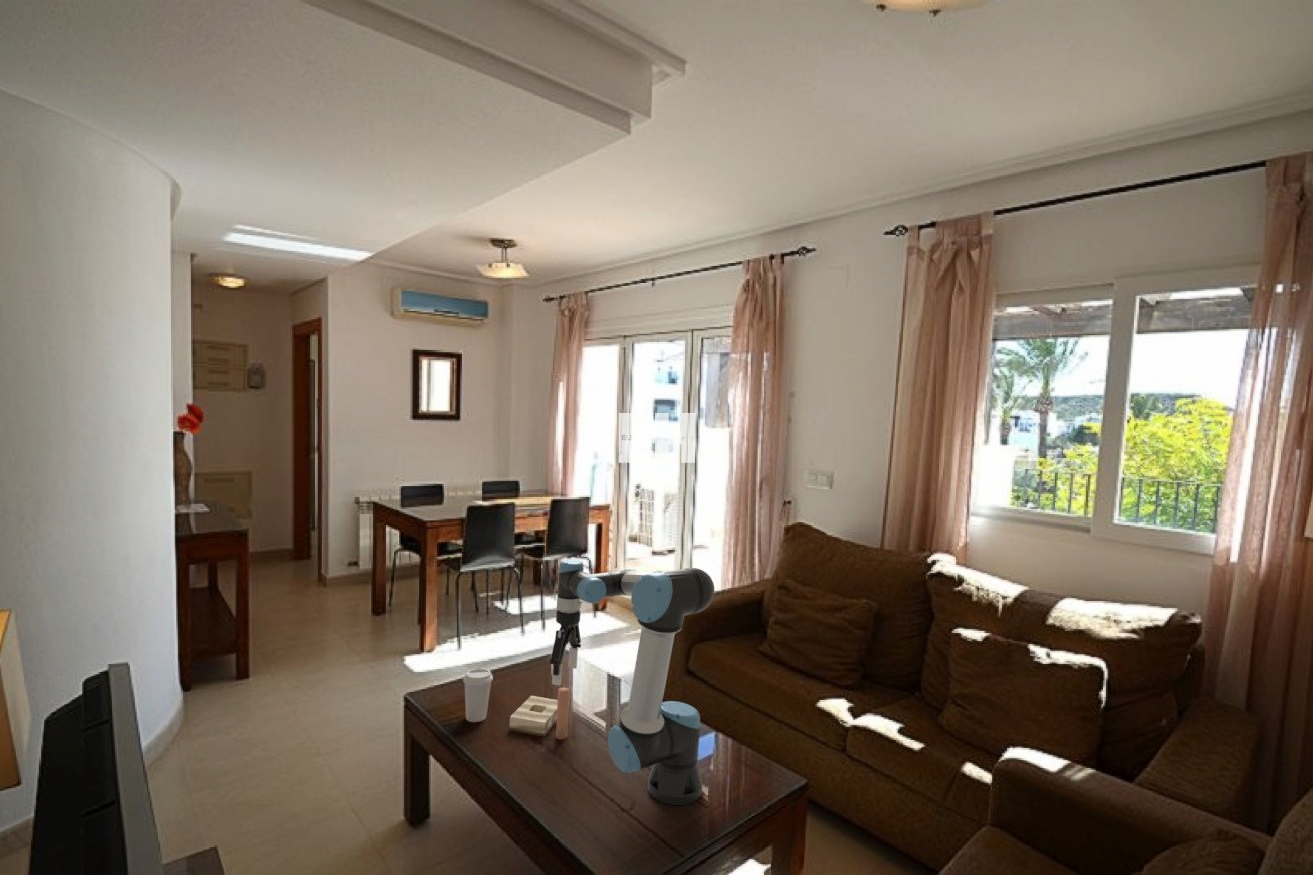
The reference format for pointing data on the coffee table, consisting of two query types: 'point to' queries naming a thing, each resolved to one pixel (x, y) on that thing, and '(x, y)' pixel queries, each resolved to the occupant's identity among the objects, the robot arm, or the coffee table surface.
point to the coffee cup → (477, 693)
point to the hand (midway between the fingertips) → (564, 675)
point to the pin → (562, 713)
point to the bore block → (535, 716)
